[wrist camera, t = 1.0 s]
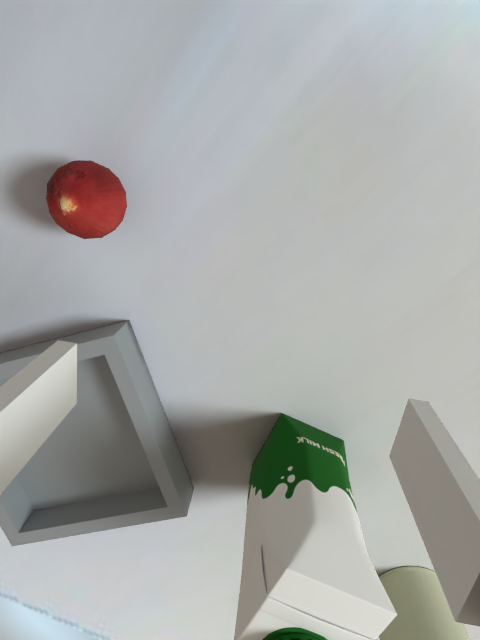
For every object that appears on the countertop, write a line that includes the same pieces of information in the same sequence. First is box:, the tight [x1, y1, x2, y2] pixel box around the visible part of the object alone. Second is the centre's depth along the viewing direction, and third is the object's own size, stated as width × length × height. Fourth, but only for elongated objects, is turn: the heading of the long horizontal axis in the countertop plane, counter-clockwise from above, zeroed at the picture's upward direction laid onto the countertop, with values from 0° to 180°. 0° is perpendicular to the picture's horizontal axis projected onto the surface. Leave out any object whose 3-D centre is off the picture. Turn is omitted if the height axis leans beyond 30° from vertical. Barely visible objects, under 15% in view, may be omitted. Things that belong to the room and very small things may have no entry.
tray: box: [0, 320, 194, 546], centre depth 42 cm, size 20×20×4 cm
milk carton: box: [234, 413, 397, 640], centre depth 33 cm, size 9×9×20 cm
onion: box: [46, 161, 127, 239], centre depth 32 cm, size 6×6×8 cm
